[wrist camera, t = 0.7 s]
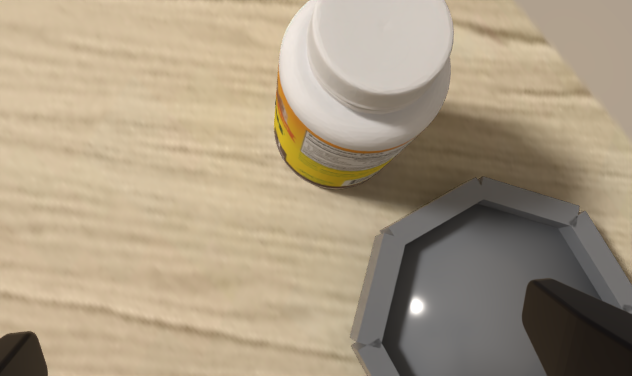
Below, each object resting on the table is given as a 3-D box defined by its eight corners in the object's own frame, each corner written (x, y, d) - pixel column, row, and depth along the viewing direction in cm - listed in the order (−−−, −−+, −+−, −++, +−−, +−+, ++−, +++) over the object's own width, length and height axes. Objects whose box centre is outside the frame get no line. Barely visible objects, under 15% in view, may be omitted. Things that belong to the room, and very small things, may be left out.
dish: (661, 372, 23) (690, 378, 21) (448, 525, 21) (464, 544, 19) (523, 149, 24) (541, 140, 23) (309, 270, 22) (313, 269, 21)
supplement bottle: (297, 61, 24) (323, -98, 14) (404, 103, 24) (507, -23, 14) (254, 166, 23) (250, 77, 13) (367, 210, 23) (452, 154, 13)
